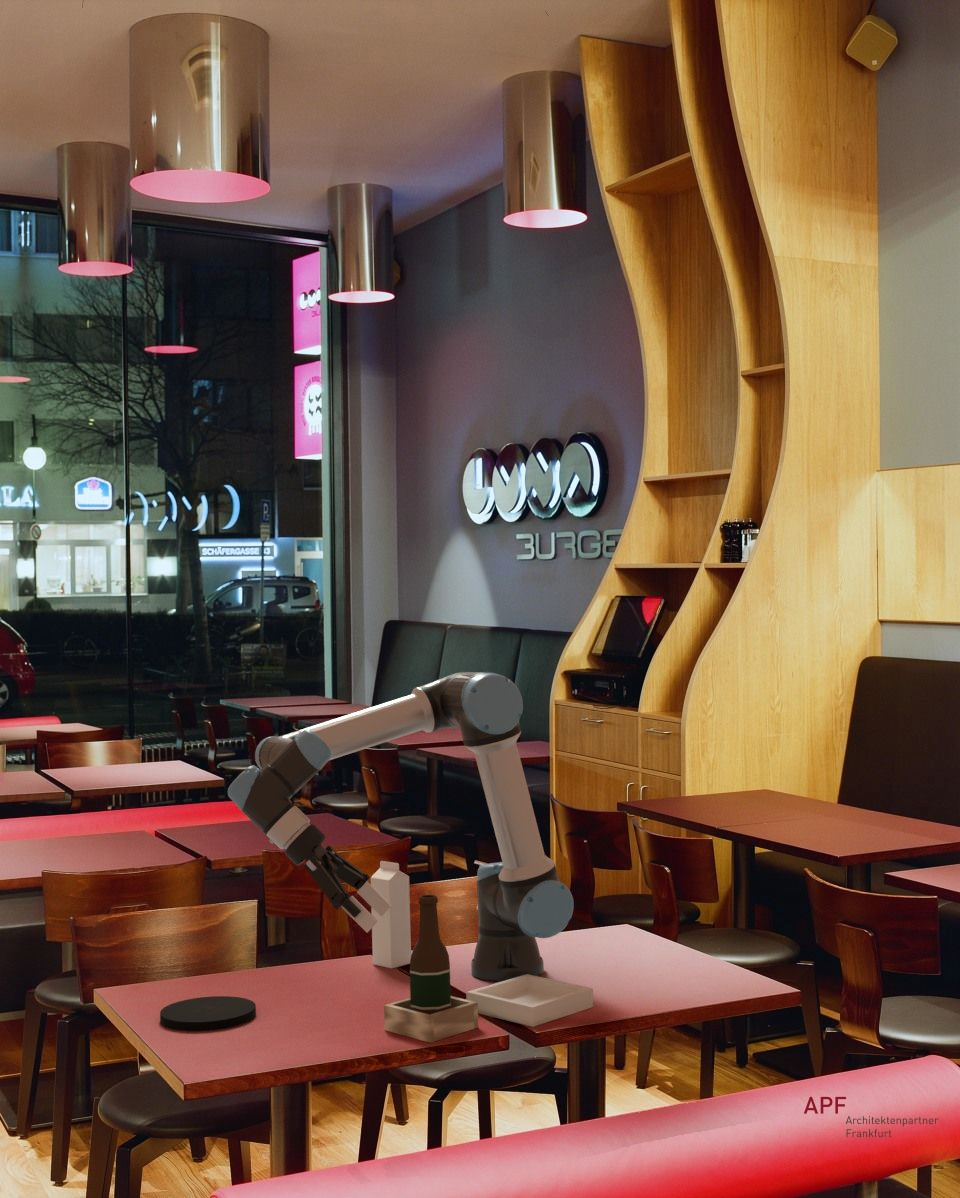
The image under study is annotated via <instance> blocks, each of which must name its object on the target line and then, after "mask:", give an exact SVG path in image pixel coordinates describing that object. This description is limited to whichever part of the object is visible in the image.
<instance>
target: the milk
mask: <svg viewBox="0 0 960 1198" xmlns="http://www.w3.org/2000/svg"><path fill="white" fill-rule="evenodd" d="M370 884H371V885H372V886H373V887H374V888H375V889H376V890H377V891H378V892H379V893H380V894H381V895H382V896H383V897H384V898H385V899H386V900H387V901H388V902H389V903H390V904H391V905H392V906H391V907H390V908H389V909H388V910H387V912H386V913H385V914H384V915H383V916H382V917H381V916H380V915H379V914H378V913H377V912H376V911H375V910H374V909H373V908H372V907H371V906H370V907H371V915H372V916H373V917H374V918H375V919H376V920H377V921H378V922H377V923H376V924H375V925H374V926H373V927H372V928H371V938H372V941H371V942H372V943H371V944H372V945H371V946H372V947H371V948H372V965H373V966H379V967H384V968H387V969H395V968H399V967H402V966H406V965H410V959H411V955H412V945H411V944H412V941H411V937H412V936H411V935H412V934H411V909H410V908H411V904H410V876H409V875H408V874H406V873H405V872H403V871H401V870H400V864H399V863H398V862H393V861H384V860H380V862H379V868H378V869H377V870H376V872H374V873H373V874H372V875H371V877H370Z"/></svg>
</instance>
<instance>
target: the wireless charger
mask: <svg viewBox="0 0 960 1198" xmlns="http://www.w3.org/2000/svg"><path fill="white" fill-rule="evenodd" d="M256 1007H257V1006H256V1003H255V1002H254V1001H252V1000H250V999H249V998H246V997H239V996H238V997H237V996H228V995H226V996H225V995H223V996H222V995H217V996H215V995H214V996H212V995H211V996H202V997H193V998H188V999H184V1000H180V1001H176V1002H173V1003H171V1004H168V1005H166V1006H164V1007H163V1008H162V1009H160V1012H159V1020H160V1022H159V1023H160V1025H161V1026H163V1027H164V1028H167V1029H169V1030H173V1031H174V1030H175V1031H180V1032H209V1031H218V1030H225V1029H229V1028H234V1027H238V1026H241V1025H244V1024H247V1023H249V1022H251V1021H252V1020H253V1019H254V1018H256V1016H257V1008H256Z"/></svg>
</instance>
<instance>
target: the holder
mask: <svg viewBox="0 0 960 1198" xmlns="http://www.w3.org/2000/svg"><path fill="white" fill-rule="evenodd" d="M383 1009H384V1010H383V1011H384V1012H383V1014H384V1015H383V1016H384V1017H383V1018H384V1019H383V1020H384V1021H383V1022H384V1031H386V1032H390V1033H395V1034H398V1035H401V1036H404V1037H405V1036H406V1037H409V1038H412V1039H416V1040H419V1041H423V1042H426V1043H434V1042H437V1041H440V1040H443V1039H445V1038H449V1037H452V1036H455V1035H460V1034H462V1033H464V1032H469V1031H470V1030H474V1029H477V1028H479V1013H478V1002H474V1001H470V1000H466V998H465V999H464V998H461V997H457V996H453V995H451V1008H450V1009H447V1010H444V1011H440V1012H437V1013H434V1014H430V1015H429V1014H425V1013H421V1012H417V1011H413V1010H411V1000H410V997H408V998H405V999H402V1000H397V1001H395V1002H391V1003H387V1004H384V1005H383Z"/></svg>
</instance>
